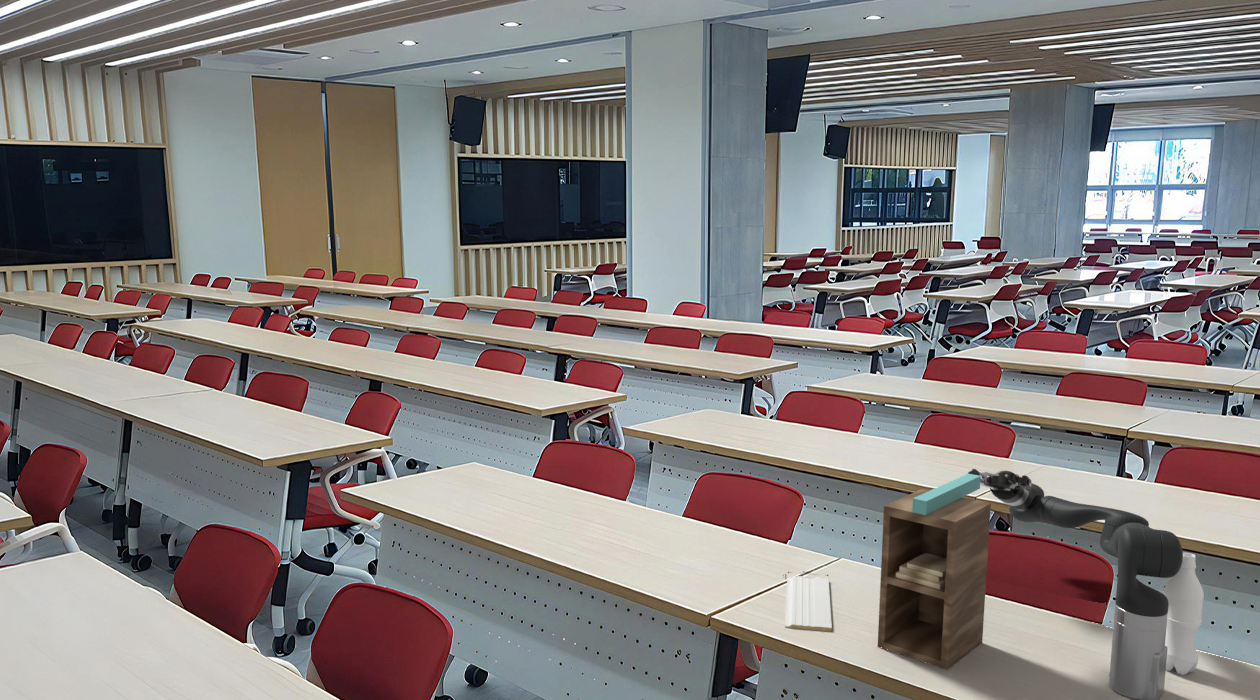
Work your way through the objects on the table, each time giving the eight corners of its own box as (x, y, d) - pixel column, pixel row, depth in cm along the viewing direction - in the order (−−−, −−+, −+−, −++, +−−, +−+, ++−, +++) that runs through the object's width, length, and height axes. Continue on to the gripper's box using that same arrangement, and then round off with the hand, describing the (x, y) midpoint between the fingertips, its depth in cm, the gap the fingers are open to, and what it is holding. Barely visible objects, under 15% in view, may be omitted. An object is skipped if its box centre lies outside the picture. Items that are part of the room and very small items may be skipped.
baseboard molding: (778, 629, 218) (831, 634, 216) (778, 617, 218) (832, 622, 216) (781, 580, 248) (828, 583, 246) (781, 569, 248) (828, 573, 246)
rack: (982, 642, 211) (990, 503, 206) (947, 670, 197) (955, 521, 193) (914, 622, 221) (921, 489, 217) (877, 646, 208) (884, 505, 204)
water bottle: (1152, 668, 199) (1162, 554, 196) (1163, 658, 204) (1173, 546, 201) (1191, 680, 194) (1201, 563, 190) (1201, 669, 199) (1212, 555, 195)
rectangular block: (980, 488, 218) (980, 475, 218) (925, 515, 198) (926, 501, 197) (967, 486, 220) (968, 473, 220) (912, 512, 200) (912, 498, 199)
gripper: (982, 472, 247) (963, 457, 235) (1040, 476, 239) (1022, 461, 226) (979, 500, 245) (959, 486, 233) (1037, 505, 237) (1020, 491, 224)
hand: (990, 474), depth 230 cm, fingers open, 8 cm apart
